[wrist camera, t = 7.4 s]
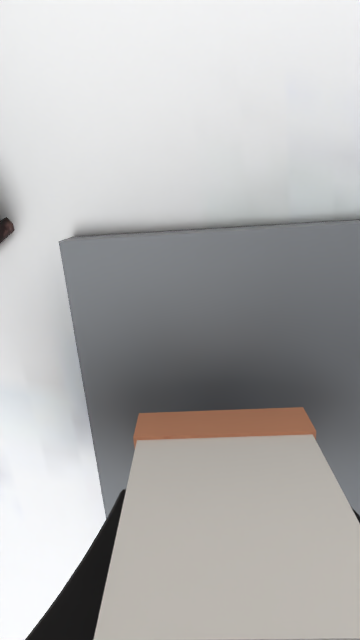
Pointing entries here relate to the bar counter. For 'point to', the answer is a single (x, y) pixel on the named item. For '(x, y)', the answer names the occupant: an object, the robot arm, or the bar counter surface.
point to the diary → (5, 228)
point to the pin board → (219, 332)
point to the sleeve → (232, 533)
